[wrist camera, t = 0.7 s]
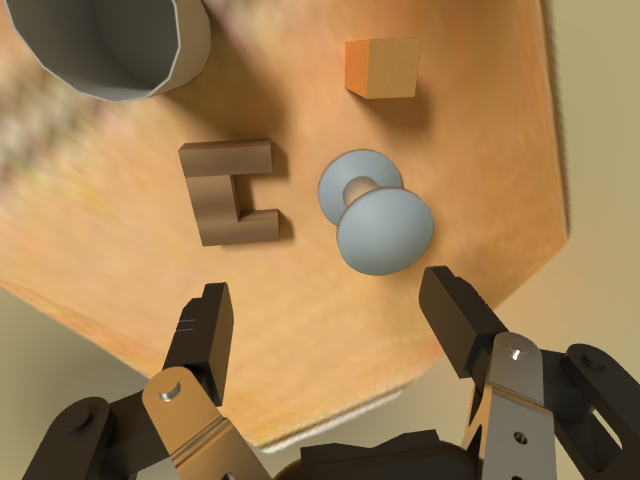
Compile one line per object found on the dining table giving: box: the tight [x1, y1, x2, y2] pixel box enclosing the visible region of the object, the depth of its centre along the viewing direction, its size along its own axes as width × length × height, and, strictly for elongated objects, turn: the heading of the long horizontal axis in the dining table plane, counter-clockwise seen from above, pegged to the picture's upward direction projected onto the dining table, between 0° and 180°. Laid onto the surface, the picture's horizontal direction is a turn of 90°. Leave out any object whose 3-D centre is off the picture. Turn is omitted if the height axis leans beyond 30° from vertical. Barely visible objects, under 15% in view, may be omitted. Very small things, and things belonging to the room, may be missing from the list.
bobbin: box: [318, 149, 434, 276], centre depth 30 cm, size 9×9×10 cm
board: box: [178, 139, 280, 246], centre depth 31 cm, size 10×8×2 cm
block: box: [345, 38, 422, 99], centre depth 24 cm, size 4×4×8 cm
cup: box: [3, 0, 212, 104], centre depth 20 cm, size 8×8×10 cm
